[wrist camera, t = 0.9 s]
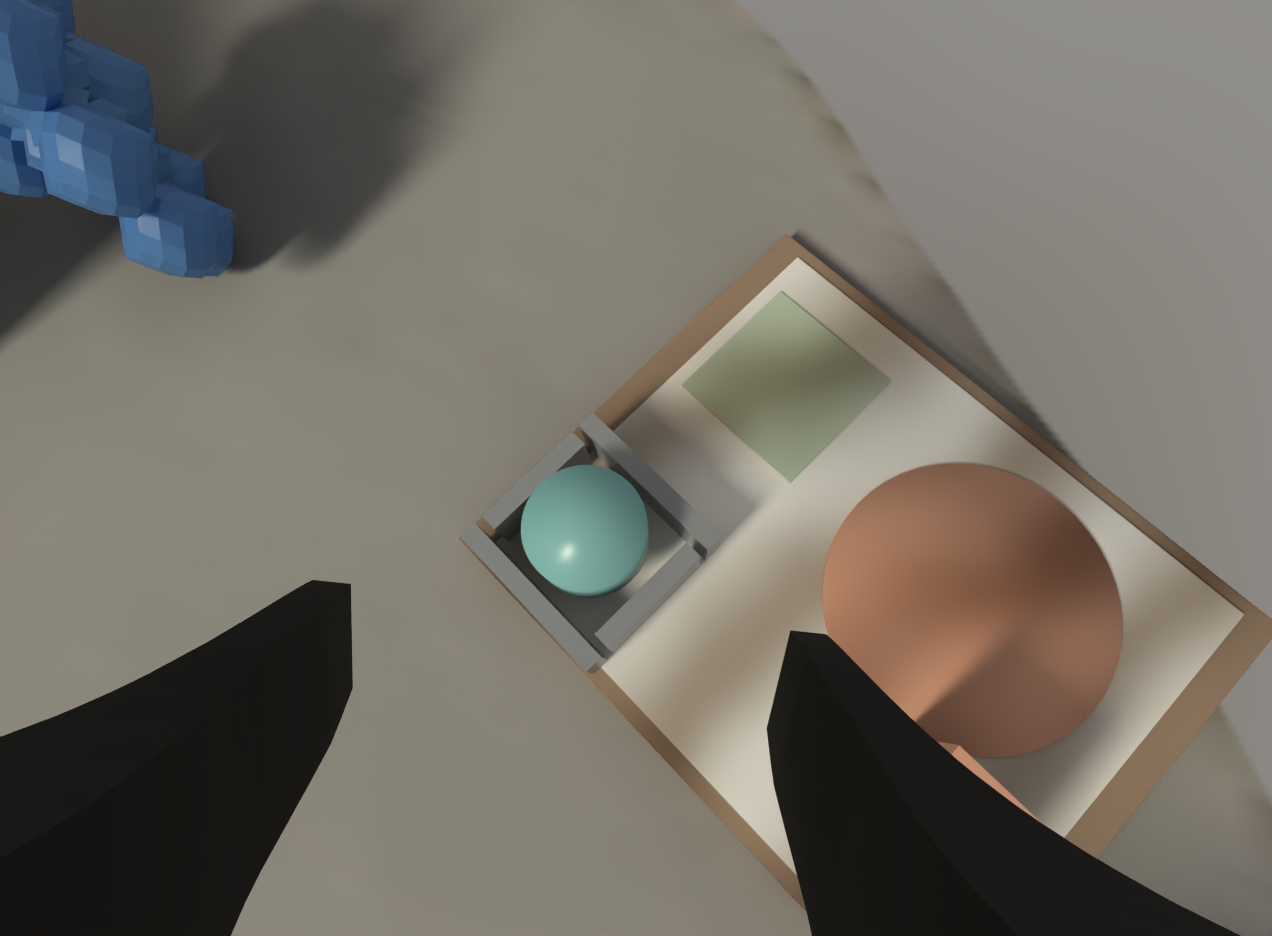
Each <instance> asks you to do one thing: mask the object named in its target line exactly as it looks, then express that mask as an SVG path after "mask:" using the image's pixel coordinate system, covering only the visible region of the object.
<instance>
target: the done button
mask: <svg viewBox="0 0 1272 936" xmlns="http://www.w3.org/2000/svg"><path fill="white" fill-rule="evenodd" d="M521 538H522V543H523V547H524V550H525V552H526V555H527V557H528V559H529V560H530V562H531V564H532V565H533V566H534V567H535V569H536V570H537V571H538V572H539V573H540V574H541V575H543V576H544V577H545V578H546V579H547V580H548V581H549V582H550V583H552V584H553V585H554V586H555V587H557V588H558V589H560V590H562V591H564V592H566V593H568V594H571V595H574V596H579V597H587V598H592V597H601V596H605V595H608V594H611V593H614V592H616V591H618V590H620V589H621V588H623V587H624V586H626V585H627V584H628V583H629V582H630V581H632V580H633V578H634V577H635V576H636V575H637V574H638V572H639V571H640V569H641V568H642V566H643V564H644V562H645V560H646V557H647V554H648V550H649V543H650V533H649V526H648V521H647V515H646V510H645V507H644V504H643V501H642V499H641V497H640V495H639V494H638V492H637V491H636V489H635V488H634V487H633V486H632V485H631V483H630V482H629V481H627V480H626V479H625V478H624V477H623V476H621V475H619V474H618V473H616V472H614V471H612V470H610V469H607V468H604V467H600V466H595V465H577V466H572V467H568V468H565V469H562V470H560V471H558V472H556V473H554V474H552V475H551V476H549V477H547V478H546V479H545V480H544V481H543V482H541V483H540V484H539V486H538V487H537V488H536V489H535V490H534V491H533V493H532V494H531V496H530V498H529V499H528V501H527V503H526V506H525V508H524V511H523V515H522V520H521Z"/></svg>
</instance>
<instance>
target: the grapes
mask: <svg viewBox="0 0 1272 936" xmlns="http://www.w3.org/2000/svg"><path fill="white" fill-rule="evenodd" d="M75 33H76V31H75V24H74V17H73V10H72V4H71V0H0V192H3V193H5V194H11V195H18V196H26V197H33V198H44V197H45V196H47V195H49V194H51V195H53V196H56V197H58V198H61V199H63V200H65V201H68V202H70V203H72V204H75V205H78V206H80V207H83V208H85V209H88V210H91V211H93V212H96V213H98V214H104V215H111V216H118V217H119V222H120V228H121V235H122V242H123V248H124V254H125V258H127V259H129V260H132V261H134V262H137V263H139V264H141V265H144V266H146V267H149V268H152V269H155V270H157V271H160V272H163V273H166V274H169V275H174V276H180V277H191V278H203V277H204V276H219V275H220V274H221V273H223V272H224V271H225V270H226V269H227V268H228V267H229V265H230V263H231V262H232V257H233V249H234V235H233V222H232V212H231V209H229V208H226V207H224V206H222V205H219V204H217V203H215V202H213V201H210V200H208V199H206V186H205V175H204V166H203V162H202V161H200V160H197V159H195V158H193V157H191V156H189V155H186V154H184V153H182V152H180V151H177V150H175V149H173V148H171V147H168V146H166V145H163V144H159V143H158V138H157V130H156V127H155V126H153V125H151V122H152V116H153V107H152V98H151V90H150V82H149V73H148V68H146V67H144V66H143V65H141V64H139V63H137V62H135V61H133V60H131V59H129V58H127V57H125V56H123V55H120V54H118V53H116V52H114V51H112V50H110V49H108V48H105V47H103V46H101V45H98V44H94V43H91V42H89V41H87V40H85V39H83V38H81V37H78V36H76V35H75Z"/></svg>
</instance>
